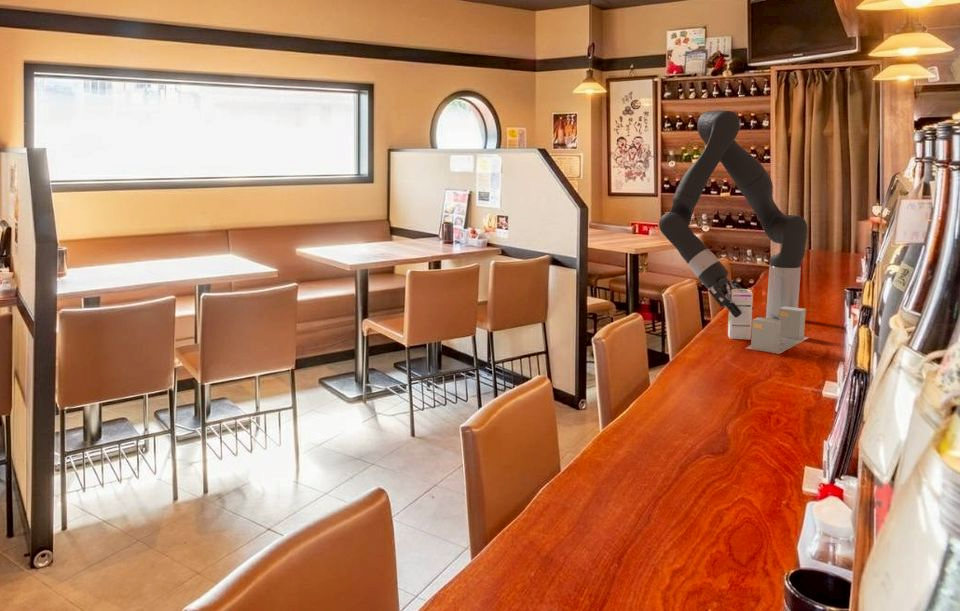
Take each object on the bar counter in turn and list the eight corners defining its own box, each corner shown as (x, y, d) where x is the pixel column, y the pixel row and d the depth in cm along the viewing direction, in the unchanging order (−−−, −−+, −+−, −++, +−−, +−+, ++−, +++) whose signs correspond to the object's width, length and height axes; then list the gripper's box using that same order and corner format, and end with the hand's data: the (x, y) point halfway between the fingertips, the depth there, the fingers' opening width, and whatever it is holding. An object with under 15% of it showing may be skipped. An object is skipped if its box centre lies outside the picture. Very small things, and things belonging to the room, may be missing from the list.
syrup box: (751, 343, 209) (754, 292, 206) (728, 342, 210) (731, 291, 208) (748, 338, 215) (751, 288, 212) (726, 338, 216) (729, 288, 213)
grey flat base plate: (776, 336, 217) (776, 332, 217) (808, 341, 211) (809, 337, 211) (744, 352, 200) (745, 348, 200) (778, 358, 194) (779, 353, 194)
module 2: (782, 333, 216) (784, 306, 214) (803, 336, 212) (805, 308, 210) (777, 336, 213) (779, 308, 211) (798, 339, 209) (800, 311, 207)
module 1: (756, 346, 202) (758, 317, 200) (779, 349, 198) (781, 320, 196) (750, 349, 199) (752, 319, 197) (773, 352, 195) (775, 322, 193)
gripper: (706, 263, 208) (744, 309, 203) (728, 257, 218) (764, 301, 213) (687, 280, 212) (724, 325, 207) (709, 274, 223) (745, 317, 218)
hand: (745, 313), depth 210 cm, fingers closed on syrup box, 8 cm apart
